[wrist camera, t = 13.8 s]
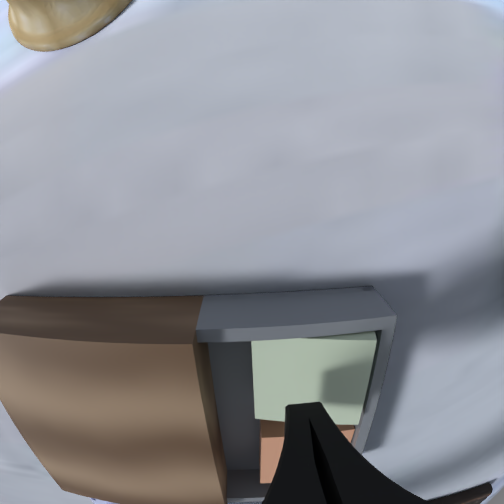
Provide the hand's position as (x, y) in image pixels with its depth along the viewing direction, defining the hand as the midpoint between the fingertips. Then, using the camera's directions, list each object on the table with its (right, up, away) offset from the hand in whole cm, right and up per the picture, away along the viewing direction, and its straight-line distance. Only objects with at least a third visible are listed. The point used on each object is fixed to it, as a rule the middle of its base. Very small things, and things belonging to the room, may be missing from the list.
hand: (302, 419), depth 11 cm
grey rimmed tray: (0, -2, +6) cm, 6 cm away
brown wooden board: (-10, -2, +5) cm, 12 cm away
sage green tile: (+1, +1, +1) cm, 2 cm away
